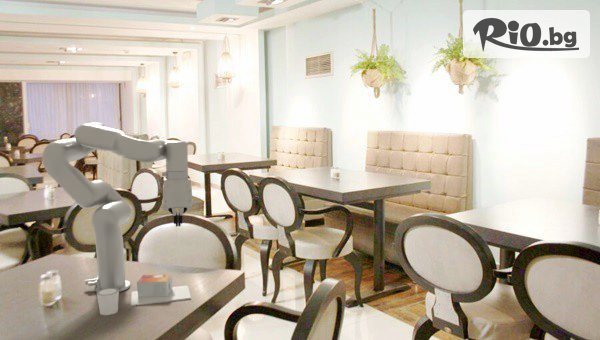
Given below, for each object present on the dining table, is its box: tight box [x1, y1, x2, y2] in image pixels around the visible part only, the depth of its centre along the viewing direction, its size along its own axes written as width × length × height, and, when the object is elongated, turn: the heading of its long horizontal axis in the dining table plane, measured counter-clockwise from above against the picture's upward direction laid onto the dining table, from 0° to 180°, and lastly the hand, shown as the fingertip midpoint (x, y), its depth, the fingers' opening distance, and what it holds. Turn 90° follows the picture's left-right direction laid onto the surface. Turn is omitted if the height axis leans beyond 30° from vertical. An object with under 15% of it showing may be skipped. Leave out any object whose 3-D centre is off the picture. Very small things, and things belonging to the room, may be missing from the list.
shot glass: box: [96, 288, 120, 316], centre depth 173 cm, size 7×7×7 cm
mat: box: [130, 285, 192, 307], centre depth 187 cm, size 20×13×1 cm, turn 107°
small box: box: [136, 274, 173, 297], centre depth 188 cm, size 8×6×10 cm
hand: (178, 225), depth 189 cm, fingers closed
